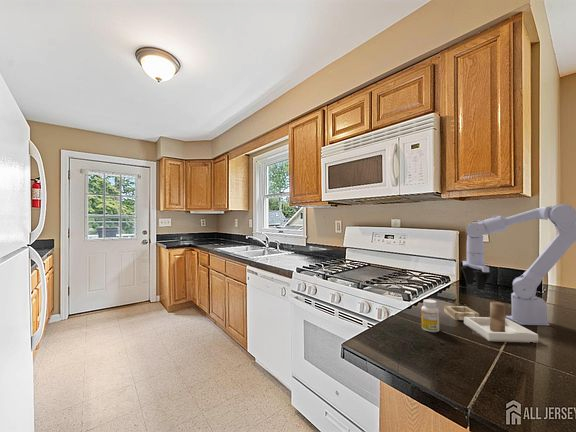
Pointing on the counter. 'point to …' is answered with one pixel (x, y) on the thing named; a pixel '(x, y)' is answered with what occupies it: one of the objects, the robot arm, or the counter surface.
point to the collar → (460, 312)
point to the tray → (511, 333)
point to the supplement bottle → (430, 316)
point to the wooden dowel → (497, 317)
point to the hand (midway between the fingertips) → (474, 286)
